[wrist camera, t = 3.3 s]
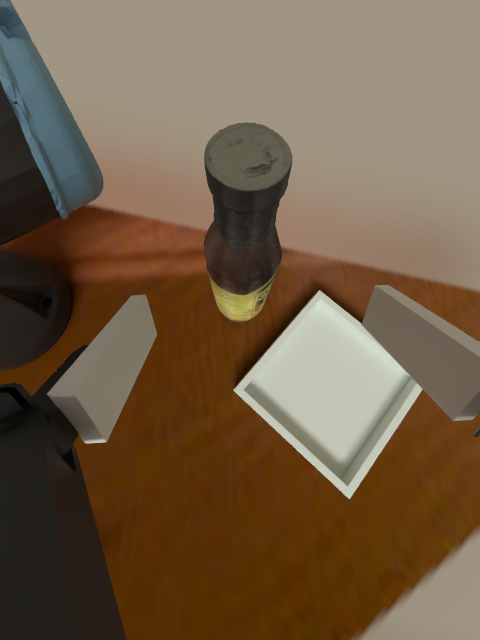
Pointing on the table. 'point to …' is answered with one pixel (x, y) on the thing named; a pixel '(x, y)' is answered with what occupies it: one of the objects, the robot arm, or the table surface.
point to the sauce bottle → (244, 215)
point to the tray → (330, 391)
